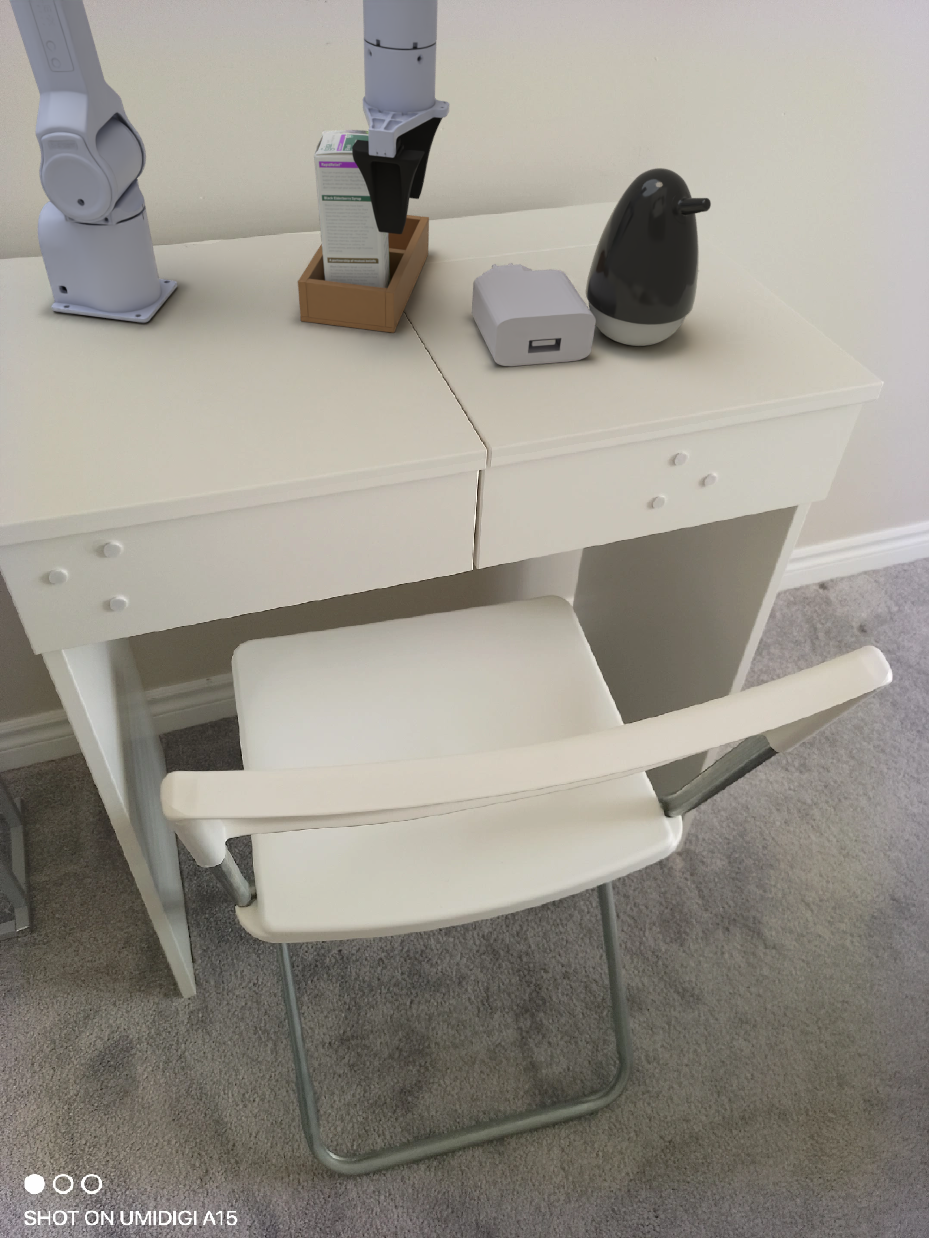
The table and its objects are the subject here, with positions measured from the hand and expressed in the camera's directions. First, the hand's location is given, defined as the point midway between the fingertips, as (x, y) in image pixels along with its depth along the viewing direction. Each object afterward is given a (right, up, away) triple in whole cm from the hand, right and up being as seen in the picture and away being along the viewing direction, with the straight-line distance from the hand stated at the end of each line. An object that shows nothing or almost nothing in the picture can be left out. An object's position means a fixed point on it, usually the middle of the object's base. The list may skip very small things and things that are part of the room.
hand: (399, 213), depth 84 cm
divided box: (-4, -2, +12) cm, 13 cm away
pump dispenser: (+22, -8, +8) cm, 25 cm away
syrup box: (-5, -5, +9) cm, 11 cm away
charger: (+11, -7, +8) cm, 16 cm away
